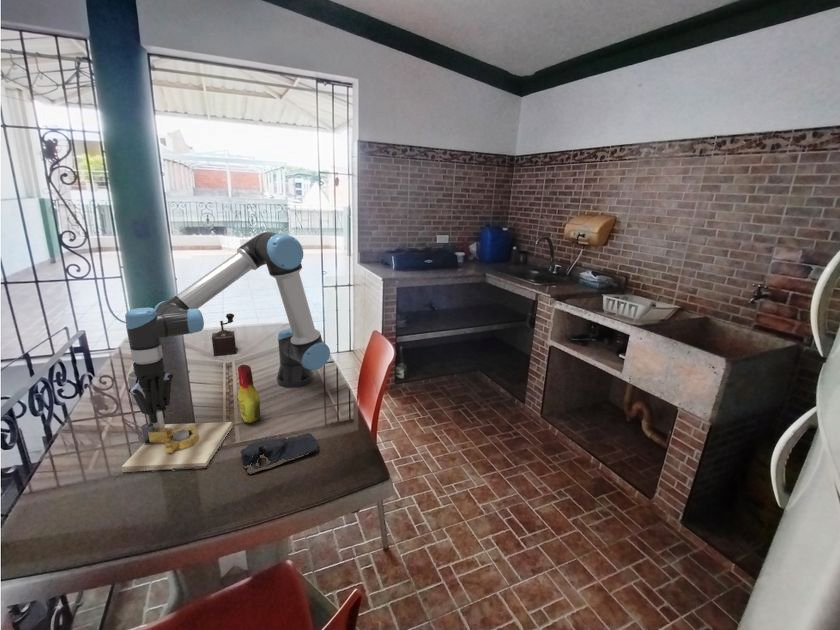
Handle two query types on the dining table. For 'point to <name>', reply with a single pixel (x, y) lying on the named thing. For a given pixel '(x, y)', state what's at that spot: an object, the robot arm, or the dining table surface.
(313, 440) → the dark slate chunk
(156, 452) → the post board
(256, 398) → the bottle
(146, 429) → the collar
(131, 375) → the mug
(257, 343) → the dining table surface
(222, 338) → the coffee grinder
